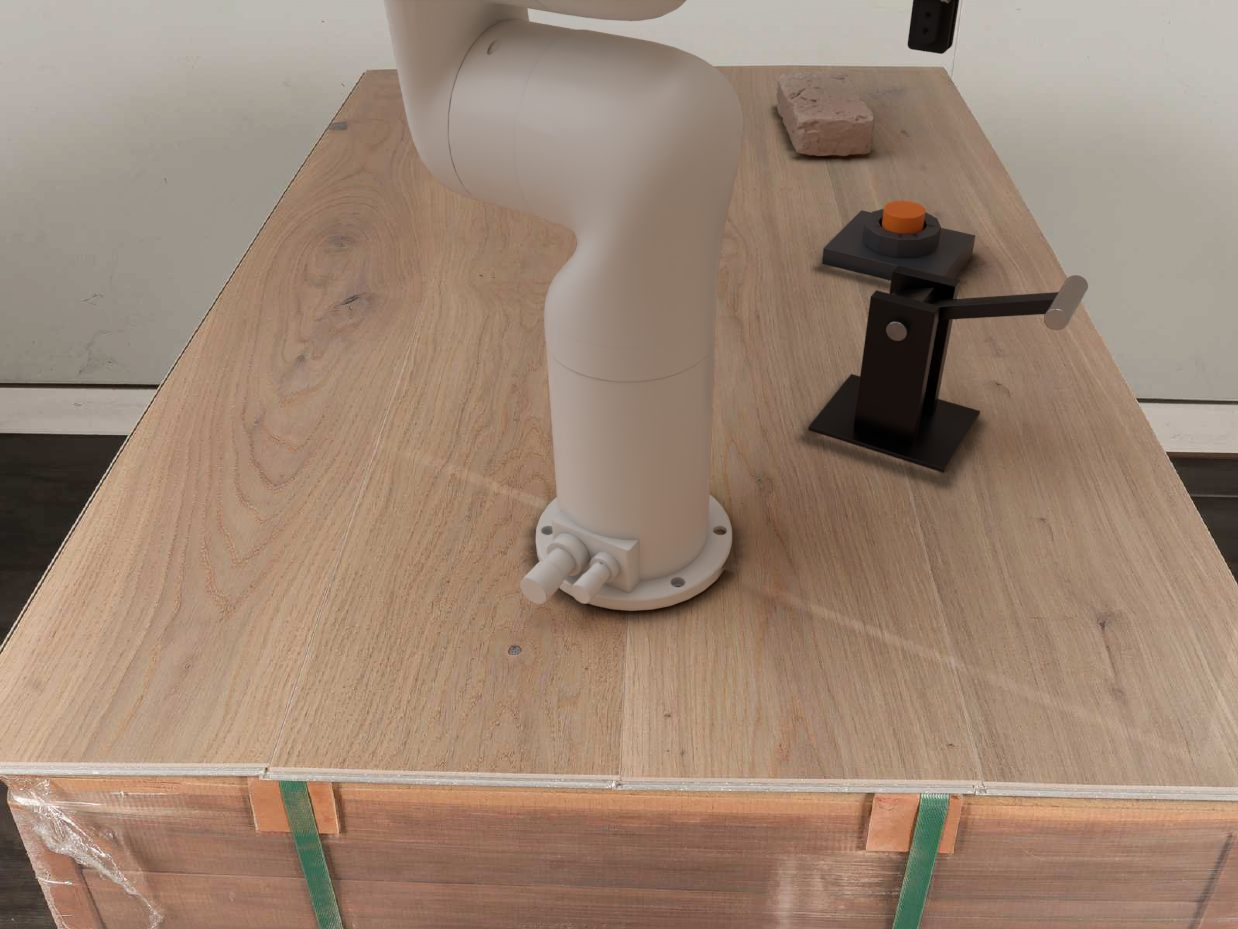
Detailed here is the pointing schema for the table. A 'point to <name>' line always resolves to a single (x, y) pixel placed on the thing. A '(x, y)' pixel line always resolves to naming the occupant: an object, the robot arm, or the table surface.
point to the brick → (824, 114)
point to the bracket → (902, 380)
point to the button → (903, 217)
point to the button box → (897, 248)
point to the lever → (1010, 303)
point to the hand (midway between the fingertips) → (929, 47)
